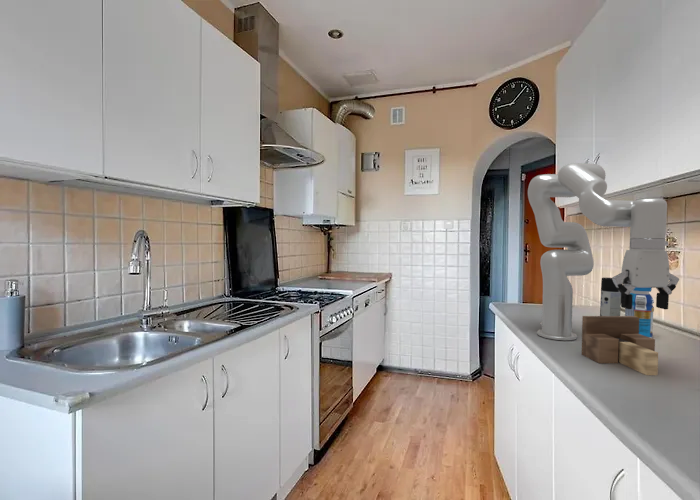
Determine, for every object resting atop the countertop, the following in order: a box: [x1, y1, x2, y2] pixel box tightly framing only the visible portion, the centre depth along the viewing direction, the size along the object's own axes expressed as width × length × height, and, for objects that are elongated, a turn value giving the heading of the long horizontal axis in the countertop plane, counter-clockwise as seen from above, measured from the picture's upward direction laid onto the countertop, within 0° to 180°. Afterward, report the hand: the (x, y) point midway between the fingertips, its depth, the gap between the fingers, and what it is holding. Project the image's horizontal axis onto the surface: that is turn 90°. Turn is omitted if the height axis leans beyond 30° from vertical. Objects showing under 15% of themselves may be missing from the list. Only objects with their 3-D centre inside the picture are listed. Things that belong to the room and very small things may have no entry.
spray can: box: [599, 277, 622, 316], centre depth 148 cm, size 7×7×20 cm
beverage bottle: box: [624, 287, 655, 338], centre depth 136 cm, size 8×8×20 cm
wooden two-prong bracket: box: [581, 315, 656, 364], centre depth 111 cm, size 8×16×12 cm, turn 90°
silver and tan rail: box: [617, 338, 659, 376], centre depth 105 cm, size 14×3×6 cm, turn 0°
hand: (644, 308), depth 101 cm, fingers open, 9 cm apart
